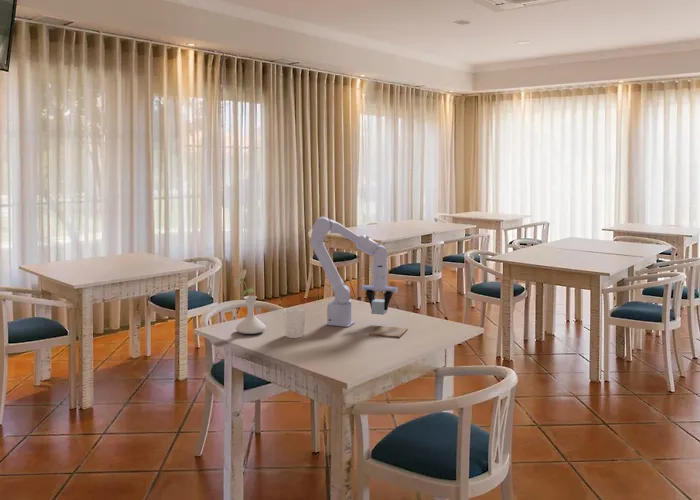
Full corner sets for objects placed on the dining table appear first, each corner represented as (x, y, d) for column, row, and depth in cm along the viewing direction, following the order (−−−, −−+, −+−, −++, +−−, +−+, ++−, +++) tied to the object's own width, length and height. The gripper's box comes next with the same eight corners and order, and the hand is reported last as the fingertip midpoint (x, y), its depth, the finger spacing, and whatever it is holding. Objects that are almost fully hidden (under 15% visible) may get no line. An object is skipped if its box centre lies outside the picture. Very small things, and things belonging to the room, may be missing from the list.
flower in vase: (250, 327, 250) (249, 264, 247) (272, 331, 244) (271, 267, 240) (226, 334, 240) (224, 269, 236) (248, 339, 233) (246, 272, 230)
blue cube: (371, 313, 252) (371, 301, 252) (375, 310, 257) (375, 298, 256) (383, 314, 251) (383, 302, 250) (387, 311, 255) (387, 299, 255)
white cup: (308, 334, 240) (308, 308, 239) (300, 339, 233) (299, 313, 231) (289, 332, 243) (289, 306, 241) (280, 337, 235) (280, 311, 234)
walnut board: (368, 335, 238) (368, 333, 238) (378, 327, 250) (378, 325, 249) (399, 338, 234) (399, 336, 234) (407, 329, 246) (407, 328, 245)
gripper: (359, 276, 250) (359, 309, 252) (394, 278, 246) (394, 312, 248) (364, 273, 257) (364, 306, 259) (399, 275, 252) (398, 308, 254)
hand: (379, 309), depth 254 cm, fingers closed on blue cube, 5 cm apart
